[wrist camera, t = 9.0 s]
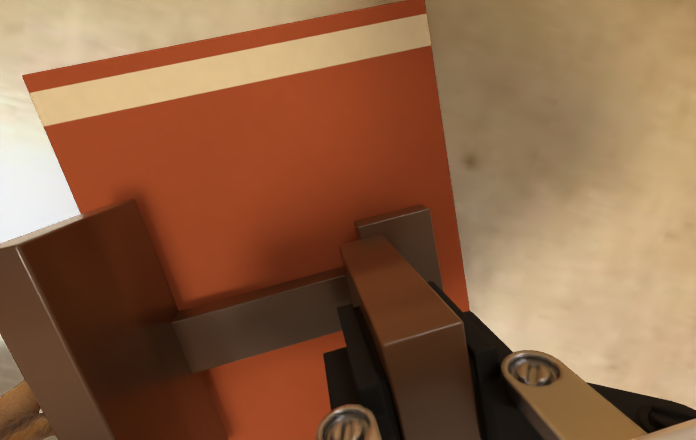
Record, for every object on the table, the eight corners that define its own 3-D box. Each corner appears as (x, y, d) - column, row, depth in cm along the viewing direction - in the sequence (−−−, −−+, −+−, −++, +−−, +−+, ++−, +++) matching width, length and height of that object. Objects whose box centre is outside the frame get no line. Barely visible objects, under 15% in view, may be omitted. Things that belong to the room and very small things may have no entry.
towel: (27, 76, 13) (20, 75, 12) (421, -1, 14) (424, -4, 14) (216, 522, 18) (214, 529, 18) (485, 434, 20) (488, 438, 20)
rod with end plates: (103, 205, 13) (-160, 301, 6) (408, 132, 14) (543, 127, 7) (206, 455, 16) (129, 741, 9) (452, 379, 17) (579, 570, 10)
